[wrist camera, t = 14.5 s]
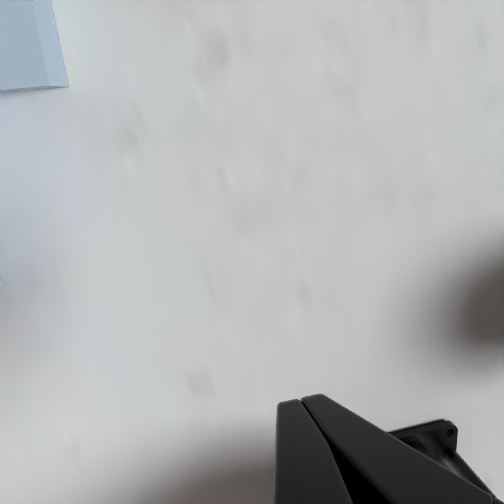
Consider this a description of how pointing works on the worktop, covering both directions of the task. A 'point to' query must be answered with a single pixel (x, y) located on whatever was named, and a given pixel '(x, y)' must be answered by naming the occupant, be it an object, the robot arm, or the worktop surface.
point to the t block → (30, 47)
